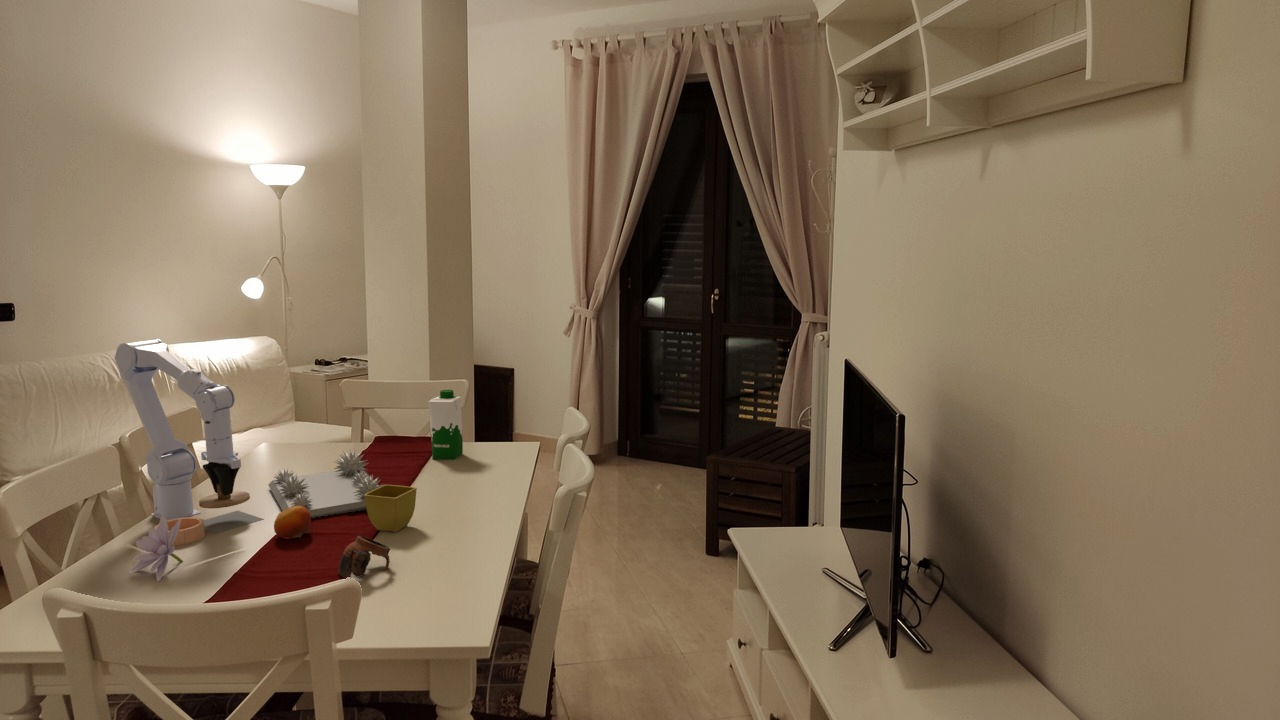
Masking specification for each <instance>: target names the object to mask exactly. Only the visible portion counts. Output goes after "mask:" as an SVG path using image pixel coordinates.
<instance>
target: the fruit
mask: <svg viewBox="0 0 1280 720" xmlns="http://www.w3.org/2000/svg"><path fill="white" fill-rule="evenodd" d="M311 524H312V519H311V516H310V512H309V511H308V510H307V509H306V508H305V507H303V506H293V507H290V508H288V509H286V510H284V511H282V510H281V512H280V513H278V514H277V516H276V518H275V521H274V522H273V530H274V533H275V534H276V535H277V536H278V537H280V538H281V537H288V538H293V539H296V538H295V537H300V538H301V537H302V535H304V534H309V533H308V532H310V529H311Z"/></svg>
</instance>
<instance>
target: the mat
mask: <svg viewBox="0 0 1280 720" xmlns="http://www.w3.org/2000/svg"><path fill="white" fill-rule="evenodd" d="M263 520H264V521H265V519H264V518H261V517H259V516H255V515H252V514H250V513H247V512H244V511H240V510H235V511H231V512H228V513H225V514H224V513H223V514H220V515H217V516H212V517H210V518H207V519H204V527H205V532H206V531H207V532H210V533H212V534H215V535H216V534H219V533H222V532H223V533H224V532H226V531H229V530H233V529H236V528H240V527H243V526H246V525H249V524H253V523H256V522H260V521H263Z"/></svg>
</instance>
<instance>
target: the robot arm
mask: <svg viewBox="0 0 1280 720" xmlns="http://www.w3.org/2000/svg"><path fill="white" fill-rule="evenodd" d="M113 359H114V360H115V363H116V365H117V368H118V370H119V373H120V375H121V378H122V380H124V382H125V385H126V388H127V390H128V392H129V395H130V397H131V400H132V402H133V404H134V407H135V409H136V412H137V414H138V417H139V419H140V421H141V423H142V427H143V429H144V430H145V434H146V437H147V438H148V441H149V443H150V445H151V449H150V450H149V451H148V453H147V454H146V455H145V457H144V460H145V462H146V466H147V474H148V477H149V479H150V480H151V481H152V482H153V483H154V484H153V487H152V498H153V506H154V507H153V508H154V512H153V513H151V514H150V516H152V517H154V516H155V517H154V518H157V519H160V518H161V516H162V515H164V517H165V519H166V521H169V520H173V519H178V518H186V517H193V516H197V515H200V514H201V513H202V511H200V510H196V509H194V500H193V491H192V482H191V481H192V480H191V479H192V478H194V474H195V472H196V471H197V469H198V460H197V458H196V456H195V454H194V453H193V452H192V451H191V450H190V448H189V446H188V444H187V443H185V442H183V441H182V440H178V439H176V437H175V435H174V432H173V430H172V428H171V425H170V421H169V420H168V417H167V416H166V413H165V411H164V408H163V406H162V403H161V401H160V398H159V396H158V393H157V391H156V389H155V387H154V384H153V380H152V379H153V377H154V376H155V375H156V374H158V372H159V370H160V371H162V372H163V373H165V374H166V375H168V376H170V377H171V378H173V380H175V381H177V387H178V388H179V390H180V391H182V392H184V393H185V394H186V395H188V397H190V398H191V399H193V400H194V401H195V406H196V407H197V410H198V411H199V413H200V418H201V420H202V421H203V429H204V438H205V449H206V450H205V451H201V452H200V455H201V460H202V461H207V462H208V463H206V464H203V465H202V468H203V470H204V471H205V472H206V475H207V476H208V477H209V480H210V482H211V485H212V487H213V490H214V494H217V484H218V483H220V488H221V492H222V494H223V495H224V496H225V495H229V494H232V492H233V491H234V486H235V481H236V477H237V475H238V473H239V470H240V469H241V468H242V460H241V459H240V458H238V456H239V452H238V451H234V444H233V432H232V421H231V410H230V409H232V407H234V404H235V402H236V401H235V393H234V392H233V390H232V389H231V388H230V387H229V386H228V385H227V384H221V385H220V384H218V383H217V384H216V383H215V382H214V381H213V380H211V379H210V378H208V377H207V376H205V375H204V374H203V373H202V371H201V370H200V369H195V368H192V369H191V368H190V369H188V368H187V366H185V365H184V364H183V363H181V362H180V360H178V359H177V358H176V357H175V356H174V355H173V354H172V353H170V349H169V346H168V345H167V344H166V343H165V342H164V341H162V340H161V339H159V338H152V339H148V340H141V341H133V342H122V343H120V344H119V345H118V347H117V348H116V351H115V354H114V358H113Z"/></svg>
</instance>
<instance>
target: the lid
mask: <svg viewBox="0 0 1280 720" xmlns="http://www.w3.org/2000/svg"><path fill="white" fill-rule="evenodd" d="M250 499H251V495H250V493H249V492H248V491H239V490H237V491H234V490H233V492H232V494H229V495H225V496H224V495H223V494H222V492H221V488H220V483H218V484H217V493H214V494H211V495H208V496H205V497H203V498H201V499H199V500H198V505H199V507H200V508H203V509H223V508H229V507H234V506H237V505H241V504H243V503H246V502H248V501H249V500H250Z"/></svg>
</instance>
